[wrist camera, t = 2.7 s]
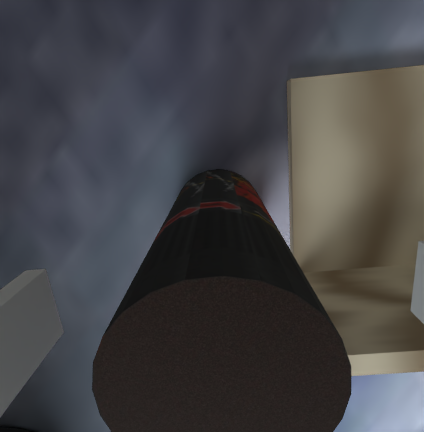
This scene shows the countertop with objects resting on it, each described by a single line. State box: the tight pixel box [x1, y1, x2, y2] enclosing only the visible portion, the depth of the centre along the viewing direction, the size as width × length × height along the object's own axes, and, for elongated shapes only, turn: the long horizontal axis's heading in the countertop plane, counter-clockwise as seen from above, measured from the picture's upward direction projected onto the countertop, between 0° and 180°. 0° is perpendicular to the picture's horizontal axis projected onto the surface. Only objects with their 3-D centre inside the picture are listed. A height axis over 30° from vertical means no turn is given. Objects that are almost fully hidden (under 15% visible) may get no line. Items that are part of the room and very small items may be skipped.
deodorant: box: [92, 169, 351, 432], centre depth 14 cm, size 6×6×15 cm
